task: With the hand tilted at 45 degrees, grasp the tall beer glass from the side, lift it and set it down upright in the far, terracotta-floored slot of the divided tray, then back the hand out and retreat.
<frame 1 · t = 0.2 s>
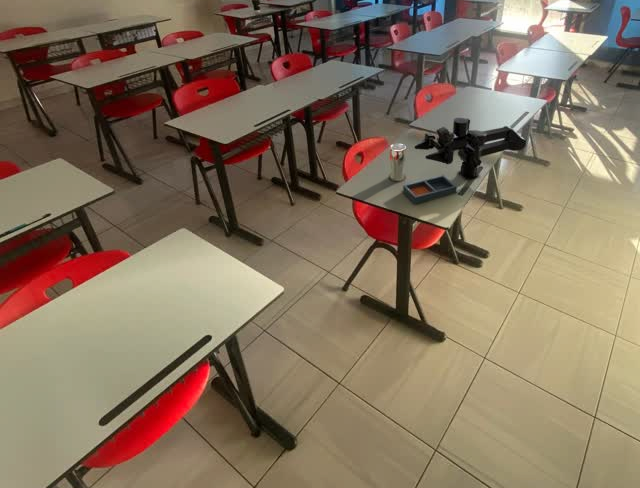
hand: (420, 152, 167), 17 cm above the table, tool horizontal, fingers open, 9 cm apart
beer glass: (397, 178, 182), on the table
divided tray: (429, 192, 173), on the table
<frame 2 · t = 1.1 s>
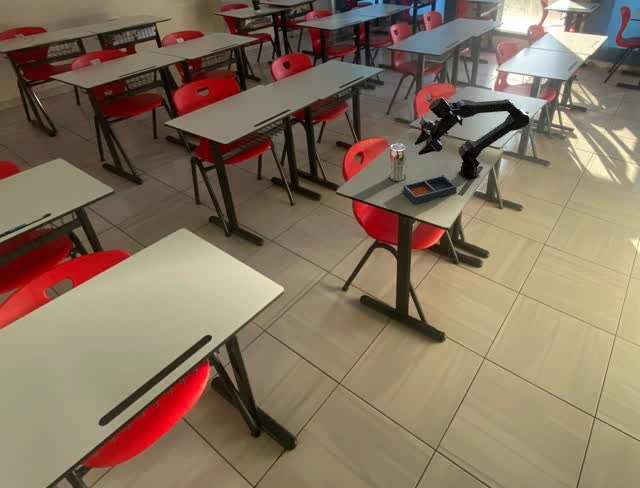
hand: (416, 149, 176), 14 cm above the table, tool tilted 45°, fingers open, 9 cm apart
nothing on the table moved.
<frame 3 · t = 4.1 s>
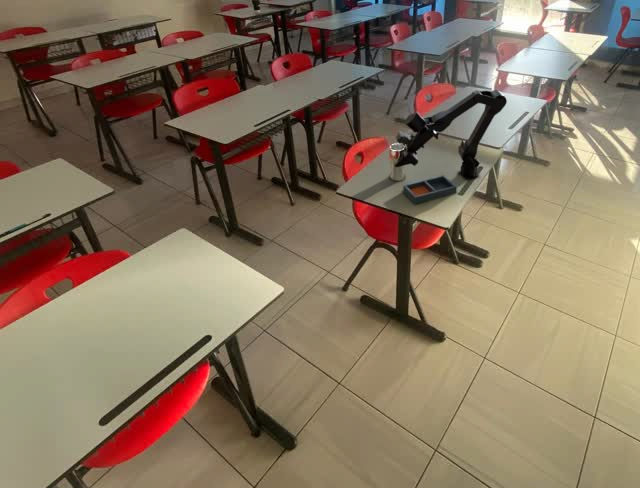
hand: (394, 162, 178), 8 cm above the table, tool tilted 45°, fingers closed on beer glass, 7 cm apart
beer glass: (397, 177, 183), on the table, touching gripper
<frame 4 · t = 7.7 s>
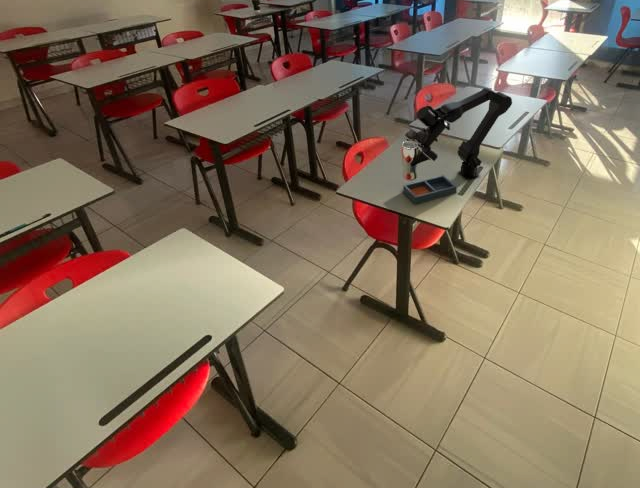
hand: (407, 161, 168), 13 cm above the table, tool tilted 45°, fingers closed on beer glass, 7 cm apart
beer glass: (409, 177, 172), point 6 cm above the table, touching gripper
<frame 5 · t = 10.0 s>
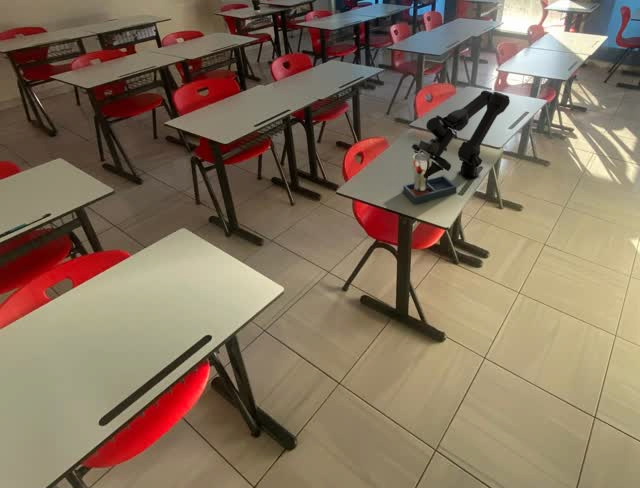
hand: (418, 174, 165), 10 cm above the table, tool tilted 45°, fingers closed on beer glass, 7 cm apart
beer glass: (420, 188, 170), point 3 cm above the table, touching gripper
when the fingers open (8 cm above the table, at t = 11.3 s): beer glass stays where it is, resting on divided tray.
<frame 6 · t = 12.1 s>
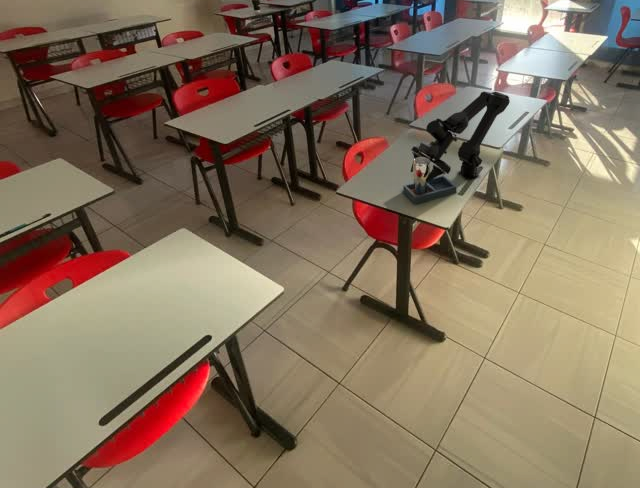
hand: (418, 176, 165), 9 cm above the table, tool tilted 45°, fingers open, 9 cm apart
beer glass: (420, 193, 171), point 1 cm above the table, touching gripper, divided tray
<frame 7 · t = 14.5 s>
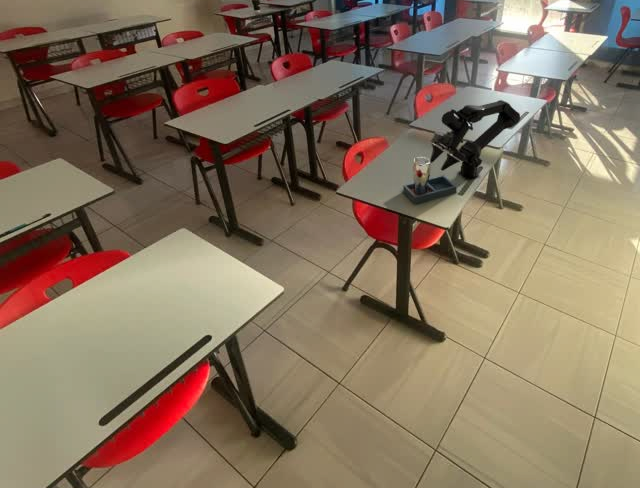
hand: (436, 166, 171), 10 cm above the table, tool tilted 40°, fingers open, 9 cm apart
beer glass: (420, 193, 171), point 1 cm above the table, touching divided tray
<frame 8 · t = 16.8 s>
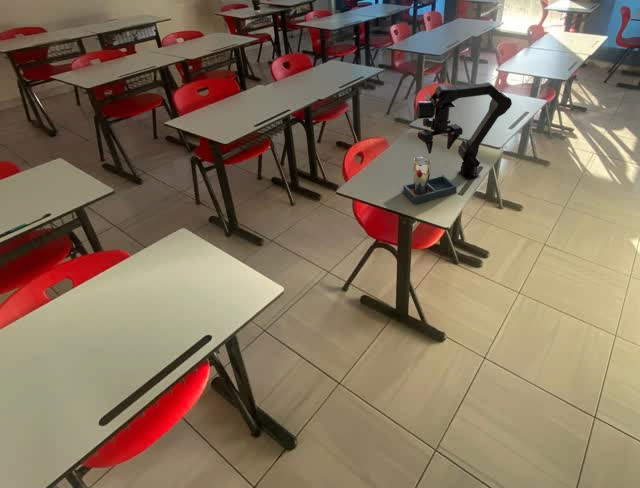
hand: (438, 151, 176), 13 cm above the table, tool pointing down, fingers open, 9 cm apart
nothing on the table moved.
at the end: beer glass 0.3 cm from the target spot in the divided tray, point 0.6 cm above the divided tray's base; beer glass tilted 0°; the gripper is holding nothing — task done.
